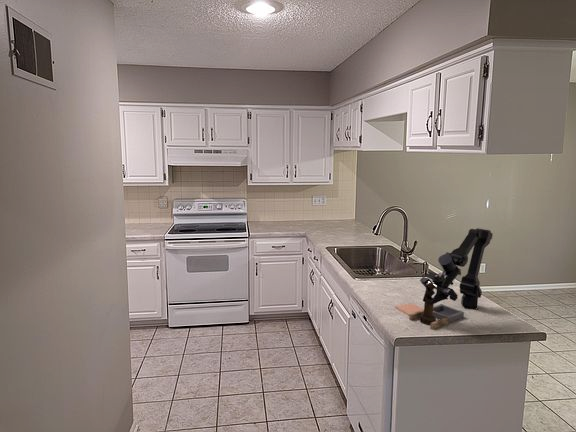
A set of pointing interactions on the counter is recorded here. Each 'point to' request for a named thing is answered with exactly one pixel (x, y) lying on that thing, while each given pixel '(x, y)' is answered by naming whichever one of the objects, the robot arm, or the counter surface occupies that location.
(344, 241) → the counter surface
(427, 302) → the wooden pepper mill
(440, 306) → the charcoal box
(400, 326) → the counter surface
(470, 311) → the counter surface
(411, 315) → the walnut channel
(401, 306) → the terracotta tile
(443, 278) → the robot arm
